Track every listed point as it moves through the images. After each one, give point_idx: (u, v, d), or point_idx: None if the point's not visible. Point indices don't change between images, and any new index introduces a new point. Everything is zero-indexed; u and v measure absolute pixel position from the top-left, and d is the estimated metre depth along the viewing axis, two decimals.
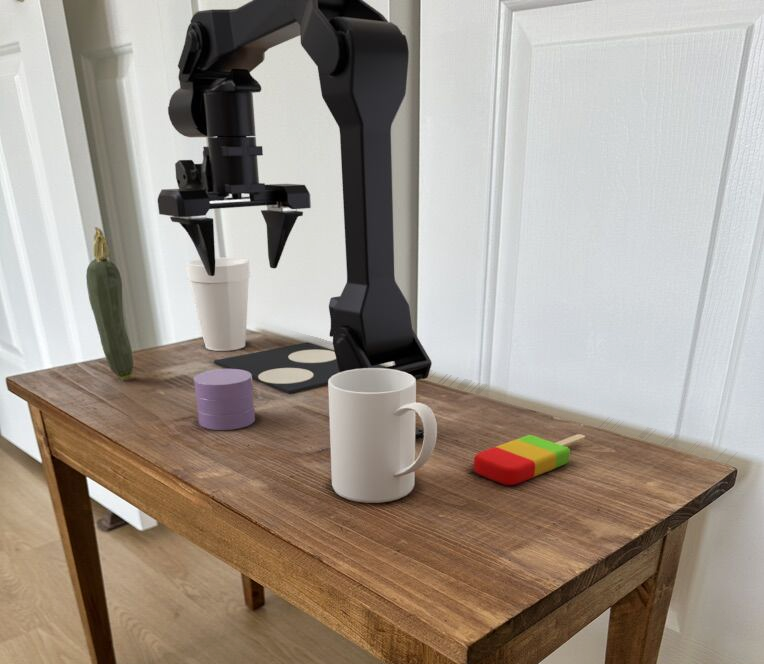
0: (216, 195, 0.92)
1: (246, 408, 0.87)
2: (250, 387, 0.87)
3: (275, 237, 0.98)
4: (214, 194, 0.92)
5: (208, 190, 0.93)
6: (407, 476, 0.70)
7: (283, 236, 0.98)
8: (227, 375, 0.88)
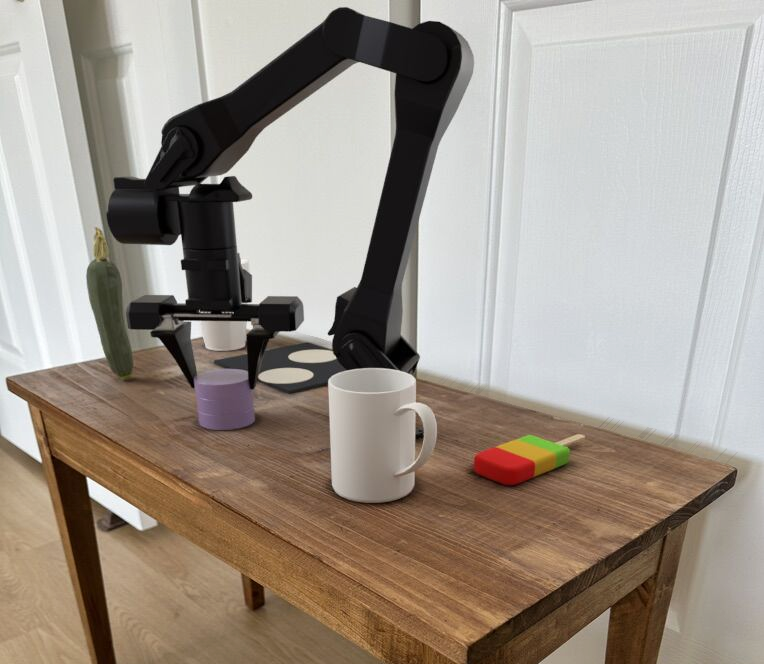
0: None
1: (246, 408, 0.87)
2: None
3: None
4: (185, 306, 0.84)
5: None
6: (407, 476, 0.70)
7: (252, 357, 0.84)
8: (227, 375, 0.88)
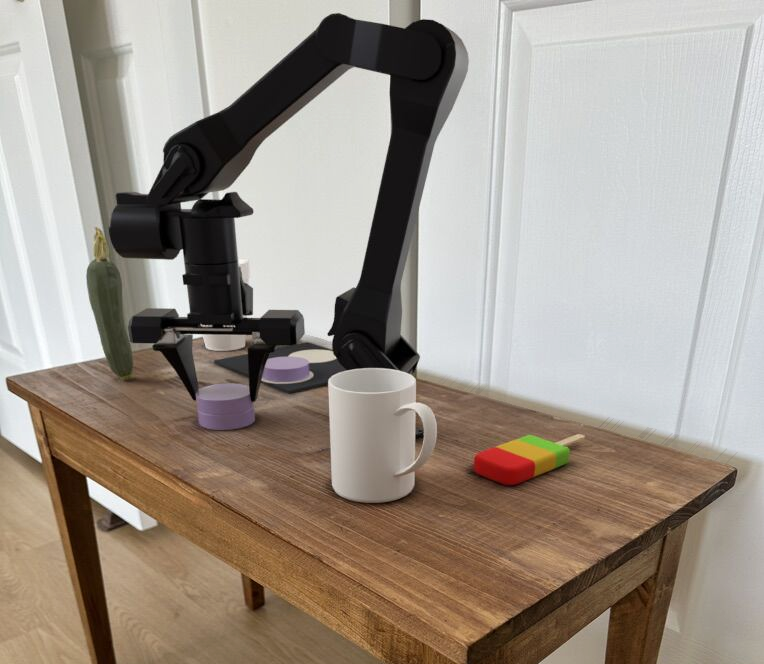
0: None
1: (246, 408, 0.87)
2: (308, 371, 1.04)
3: None
4: (187, 319, 0.84)
5: None
6: (407, 476, 0.70)
7: (253, 371, 0.85)
8: (288, 361, 1.05)
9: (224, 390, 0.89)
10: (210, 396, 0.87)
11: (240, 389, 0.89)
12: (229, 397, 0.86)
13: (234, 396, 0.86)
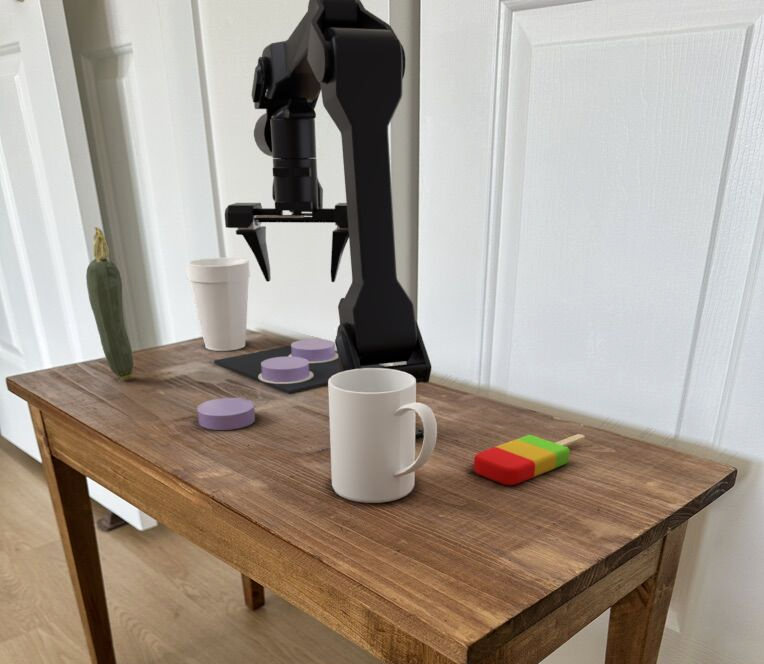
0: (273, 210, 1.02)
1: (331, 356, 1.13)
2: (308, 371, 1.04)
3: None
4: (272, 209, 1.02)
5: None
6: (407, 476, 0.70)
7: (335, 252, 1.02)
8: (288, 361, 1.05)
9: (312, 343, 1.14)
10: (303, 347, 1.12)
11: (324, 342, 1.14)
12: (318, 347, 1.12)
13: (322, 347, 1.12)
